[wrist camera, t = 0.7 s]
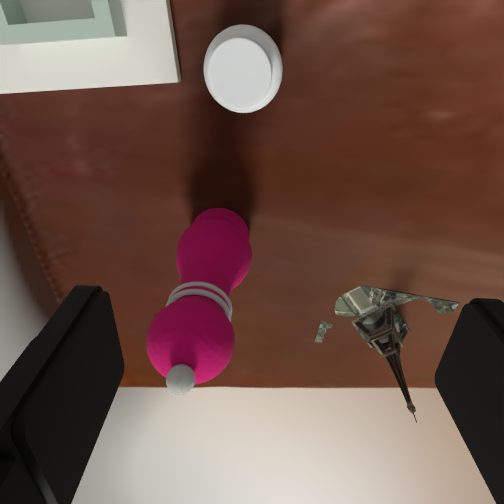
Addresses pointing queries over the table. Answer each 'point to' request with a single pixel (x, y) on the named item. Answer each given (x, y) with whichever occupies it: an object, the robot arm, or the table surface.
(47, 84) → the cup holder
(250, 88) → the supplement bottle
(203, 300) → the pepper mill
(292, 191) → the table surface
